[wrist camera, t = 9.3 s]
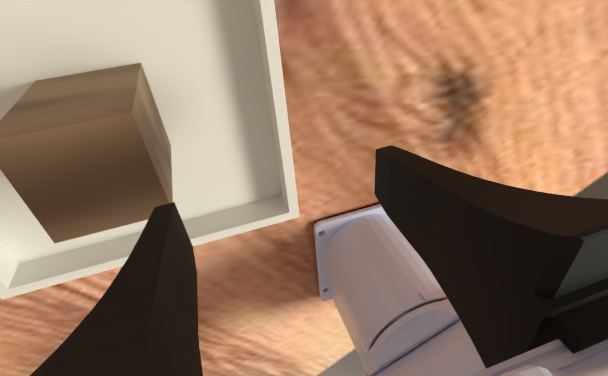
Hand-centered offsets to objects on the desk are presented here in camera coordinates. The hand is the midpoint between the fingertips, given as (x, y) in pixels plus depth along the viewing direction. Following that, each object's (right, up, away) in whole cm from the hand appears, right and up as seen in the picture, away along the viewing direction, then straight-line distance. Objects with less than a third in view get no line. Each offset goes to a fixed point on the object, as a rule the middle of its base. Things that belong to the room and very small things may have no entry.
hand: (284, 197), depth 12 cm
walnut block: (-9, +4, +5) cm, 11 cm away
